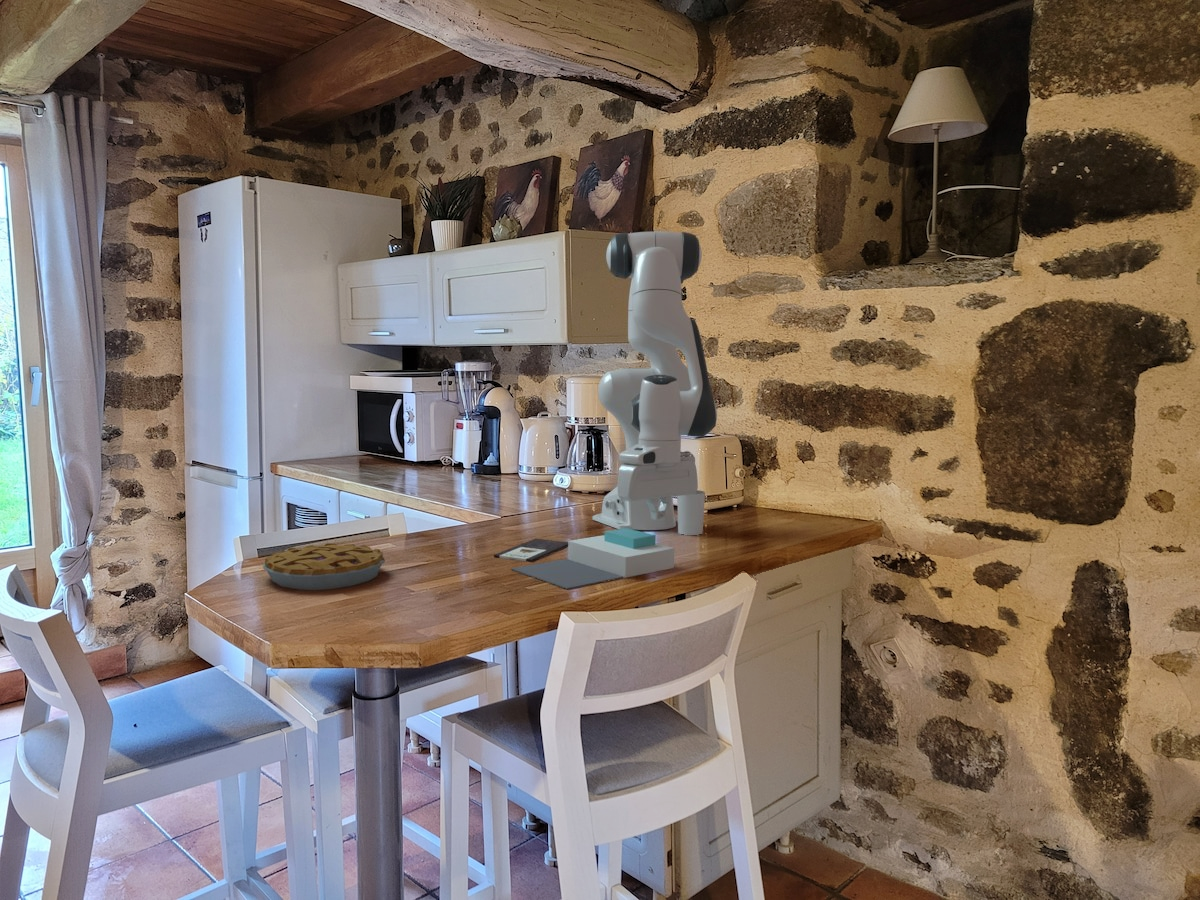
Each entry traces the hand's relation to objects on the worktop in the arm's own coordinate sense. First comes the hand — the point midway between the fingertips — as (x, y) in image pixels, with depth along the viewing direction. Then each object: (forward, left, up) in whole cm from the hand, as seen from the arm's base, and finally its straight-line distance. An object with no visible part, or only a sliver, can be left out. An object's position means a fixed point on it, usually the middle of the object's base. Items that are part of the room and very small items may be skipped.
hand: (658, 518), depth 185 cm
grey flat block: (-1, -10, -8) cm, 13 cm away
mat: (-1, -24, -8) cm, 25 cm away
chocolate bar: (-21, -17, -9) cm, 28 cm away
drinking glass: (-14, +23, -9) cm, 28 cm away
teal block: (-1, -8, -4) cm, 9 cm away
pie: (-27, -62, -9) cm, 68 cm away
